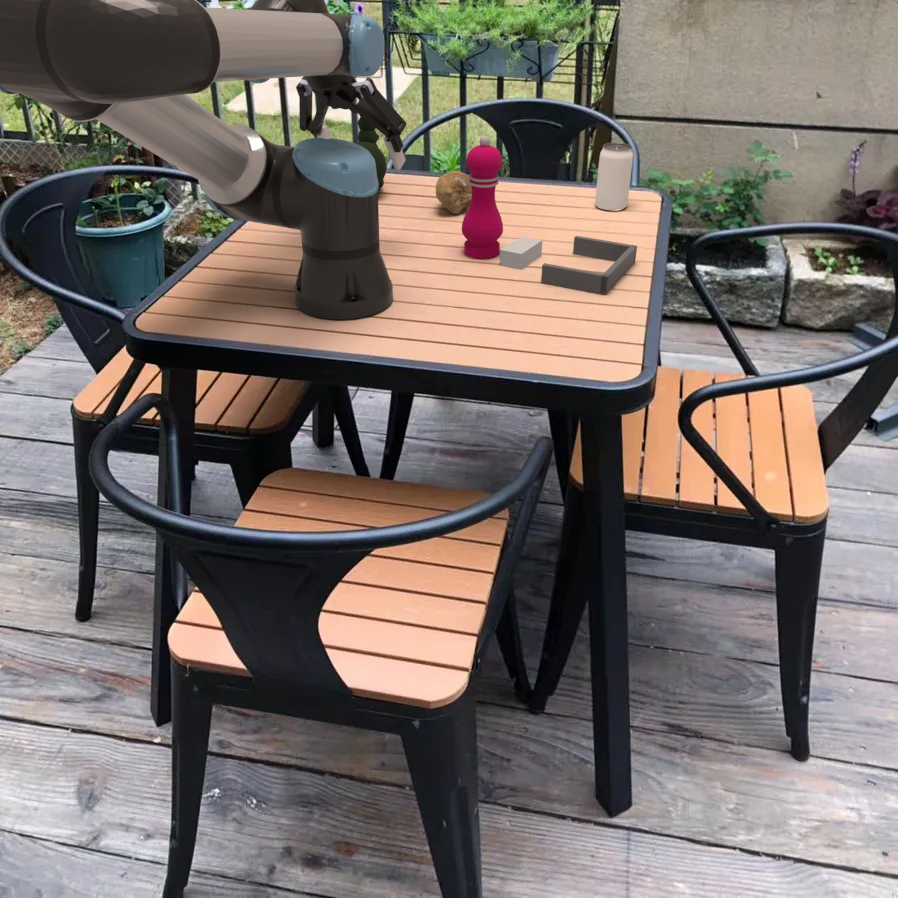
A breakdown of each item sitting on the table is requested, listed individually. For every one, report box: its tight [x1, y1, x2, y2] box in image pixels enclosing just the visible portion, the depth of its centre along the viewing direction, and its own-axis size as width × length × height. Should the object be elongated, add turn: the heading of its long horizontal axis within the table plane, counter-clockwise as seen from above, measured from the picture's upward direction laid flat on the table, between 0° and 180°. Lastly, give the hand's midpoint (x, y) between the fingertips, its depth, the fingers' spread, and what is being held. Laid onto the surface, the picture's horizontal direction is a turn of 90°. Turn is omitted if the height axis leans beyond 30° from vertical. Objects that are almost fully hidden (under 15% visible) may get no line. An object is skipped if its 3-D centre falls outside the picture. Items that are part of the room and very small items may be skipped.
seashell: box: [435, 170, 472, 215], centre depth 173 cm, size 14×8×8 cm, turn 5°
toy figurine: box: [354, 115, 388, 190], centre depth 180 cm, size 9×19×25 cm
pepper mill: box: [461, 135, 504, 260], centre depth 148 cm, size 7×7×20 cm
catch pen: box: [540, 235, 638, 296], centre depth 145 cm, size 16×11×3 cm
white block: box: [499, 236, 543, 270], centre depth 149 cm, size 8×4×3 cm, turn 149°
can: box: [594, 142, 634, 210], centre depth 172 cm, size 6×6×12 cm
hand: (367, 163), depth 152 cm, fingers open, 13 cm apart
